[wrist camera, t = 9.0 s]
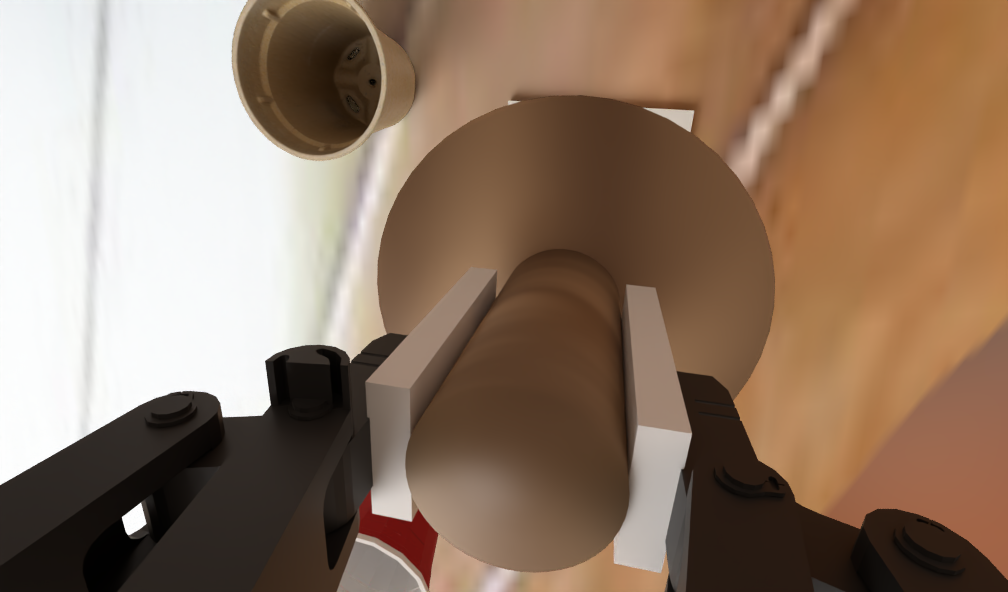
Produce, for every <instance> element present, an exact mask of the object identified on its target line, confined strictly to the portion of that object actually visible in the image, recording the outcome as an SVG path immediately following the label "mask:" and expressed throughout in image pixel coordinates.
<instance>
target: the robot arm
mask: <svg viewBox="0 0 1008 592" xmlns="http://www.w3.org/2000/svg"><path fill="white" fill-rule="evenodd" d="M496 284H497V270H494V269H485V268H476V267H471V268H470V269H469V270H468V271H467V272H466V273H465V274H464V275H463V276H462V277H461V278H460V280H459V281H458V282H457V283H456V284H455V285H454V286H453V287H452V288H451V289H450V290H449V292H448V293H447V294H446V295H445V296H444V297H443V298H442V299H441V300H440V301H439V302H438V303H437V305H436V306H435V307H434V308H433V309H432V310H431V311H430V312H429V313H428V314H427V315H426V316H425V318H424V319H423V320H422V321H421V322H420V323H419V324H418V325H417V326H416V327H415V328H414V330H413V331H412V332H411V333H410V334H409V335H402V334H395V333H389V334H387V335H385V336H382V337H380V338H378V339H376V340H373V341H372V342H371V343H370V344H369V345H368V346H366V347H365V348H364V349H363V350H362V351H361V354H358V355H357V356H356V357H355V358H354V359H353V360H352V361H351V363H350V358H349V357H348V355H347V354H346V352H345V351H343V350H340V349H338V348H336V347H332V346H325V345H305V346H300V347H295V348H290V349H287V350H284V351H282V352H279V353H276V354H275V355H273V356H272V357H270V358H269V359H267V360H266V361H265V363H266V371H267V378H268V386H269V393H270V401H271V406H270V407H269V408H268V410H267V411H266V412H265V413H264V414H263V416H248V417H222V411H221V406H220V402H219V401H218V399H217V397H216V396H213V395H211V394H208V393H206V392H194V391H183V392H175V393H170V394H168V395H166V396H162V397H158V398H155V399H153V400H151V401H149V402H146V403H144V404H142V405H140V406H138V407H136V408H134V409H133V410H131V411H129V412H127V413H126V414H124V415H122V416H120V417H119V418H117V419H115V420H114V421H112V422H110V423H108V424H107V425H105V426H103V427H101V428H100V429H98V430H96V431H94V432H93V433H91V434H89V435H87V436H86V437H84V438H82V439H80V440H79V441H77V442H75V443H73V444H72V445H70V446H68V447H66V448H65V449H63V450H61V451H59V452H58V453H56V454H54V455H52V456H51V457H49V458H47V459H45V460H44V461H42V462H40V463H38V464H37V465H35V466H33V467H31V468H30V469H28V470H26V471H24V472H23V473H21V474H19V475H17V476H16V477H14V478H12V479H10V480H9V481H7V482H5V483H3V484H2V485H0V592H337V589H338V587H339V584H340V581H341V579H342V576H343V573H344V571H345V568H346V565H347V562H348V560H349V557H350V554H351V552H352V549H353V546H354V543H355V541H356V538H357V535H358V533H359V525H360V513H359V507H360V505H361V504H362V502H363V501H364V499H365V498H366V496H367V494H368V493H369V491H370V490H371V500H372V513H373V514H377V515H382V516H387V517H392V518H397V519H402V520H406V521H411V522H412V520H413V518H414V516H415V514H416V512H417V510H418V507H417V505H416V503H415V502H414V500H413V497H412V495H411V492H410V489H409V486H408V482H407V478H406V469H405V458H406V450H407V445H408V441H409V439H410V436H411V434H412V431H413V430H414V428H415V426H416V425H417V423H418V421H419V420H420V418H421V417H422V415H423V413H424V412H425V410H426V409H427V407H428V405H429V404H430V402H431V401H432V399H433V398H434V396H435V394H436V393H437V391H438V390H439V388H440V386H441V385H442V383H443V382H444V380H445V378H446V377H447V375H448V374H449V372H450V371H451V369H452V367H453V366H454V364H455V363H456V361H457V359H458V358H459V356H460V355H461V353H462V351H463V350H464V348H465V347H466V345H467V344H468V342H469V340H470V339H471V337H472V336H473V334H474V332H475V331H476V329H477V328H478V326H479V324H480V323H481V321H482V320H483V318H484V317H485V315H486V313H487V312H488V310H489V309H490V307H491V305H492V304H493V302H494V301H495V299H496ZM621 327H622V348H623V369H624V391H625V412H626V433H627V454H628V476H629V492H630V495H629V506H628V510H627V514H626V518H625V520H624V522H623V524H622V527H621V529H620V530H619V532H618V533H617V535H616V536H615V538H614V563H615V564H620V565H625V566H629V567H634V568H639V569H644V570H649V571H654V572H658V573H661V571H662V566H663V562H664V557H665V553H666V552H667V560H668V568H669V575H668V580H667V584H666V588H665V592H1008V580H1007V579H1006V578H1005V577H1004V576H1003V575H1002V574H1001V573H1000V572H999V570H997V568H996V567H995V566H994V565H993V564H992V563H991V562H990V561H989V560H988V558H987V557H985V556H984V555H983V554H982V553H981V552H979V550H978V549H976V548H975V547H974V546H973V545H972V544H971V543H970V542H969V541H967V540H966V539H964V538H963V537H961V536H959V535H958V534H956V533H954V532H953V531H951V530H950V529H948V528H947V527H945V526H943V525H942V524H940V523H938V522H935V521H933V520H929V518H926V517H923V516H920V515H918V514H914V513H910V512H905V511H901V510H898V509H877V510H875V511H873V512H871V513H869V514H867V515H866V516H865V519H864V521H863V524H862V526H861V529H858V528H856V527H853V526H850V525H848V524H845V523H842V522H840V521H837V520H835V519H832V518H829V517H827V516H824V515H821V514H819V513H817V512H814V511H812V510H810V509H808V508H805V507H803V506H801V505H800V504H798V503H796V502H795V498H794V494H793V492H792V490H791V488H790V486H789V484H788V482H787V481H785V480H784V479H783V478H782V477H781V476H780V475H779V474H778V473H777V472H776V471H775V470H773V469H772V468H770V467H768V466H767V465H765V464H763V463H762V462H760V461H758V459H757V457H756V454H755V452H754V450H753V447H752V445H751V443H750V440H749V438H748V435H747V433H746V431H745V428H744V426H743V424H742V421H740V417H739V414H738V412H737V409H736V408H735V405H734V402H733V400H732V398H731V395H730V393H729V391H728V390H727V389H726V388H725V387H724V386H723V385H722V384H721V383H720V382H719V381H717V380H716V379H715V378H714V377H713V376H708V375H701V374H694V373H686V372H679V371H676V368H675V364H674V360H673V356H672V352H671V348H670V344H669V340H668V336H667V332H666V328H665V324H664V320H663V316H662V312H661V308H660V304H659V300H658V296H657V292H656V288H653V287H644V286H635V285H627V284H626V290H625V297H624V304H623V310H622V317H621ZM139 503H141V504H142V507H143V511H144V515H145V519H146V523H147V524H146V525H145V526H143V527H142V528H141V529H140V530H138V531H136V532H134V533H133V534H131V535H127V533H126V532H125V528H124V524H123V521H122V516H124V515H125V514H126V513H128V512H129V511H130V510H132V509H133V508H134V507H135V506H137V505H138V504H139Z"/></svg>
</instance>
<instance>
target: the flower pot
mask: <svg viewBox="0 0 1008 592" xmlns="http://www.w3.org/2000/svg"><path fill="white" fill-rule="evenodd" d="M356 48H359V49H360V51H359V52H358V53H357V54H356V58H355V57H353V58H352V59H351V60H349V59H348V57H349V55H350V54H351V53H352V51H353V50H354V49H356ZM232 68H233V74H234V80H235V83H236V87H237V91H238V94H239V97H240V99H241V102H242V104H243V106H244V108H245V110H246V112H247V113H248V115H249V117H250V119H251V120H252V121H253V123H254V124H255V126H256V127H257V128H258V129H259V130H260V132H262V133H263V134H264V136H265V137H266V138H267V139H268V140H270V141H271V142H272V143H273V144H275V145H276V146H277V147H279V148H280V149H282V150H284V151H286V152H288V153H290V154H292V155H294V156H296V157H299V158H302V159H307V160H315V161H325V160H331V159H336V158H339V157H342V156H344V155H347V154H349V153H351V152H352V151H354V150H355V149H357V148H358V147H360V146H361V145H362V144H363V143H364V142H365V141H366V140H367V139H368V138H369V137H370V135H371V134H372V133H374V132H377V131H379V130H382V129H384V128H388V127H390V126H393V125H395V124H396V123H398V122H399V121H400V120H402V119H403V118H404V116H405V115H406V114H407V113H408V111H409V109H410V108H411V106H412V103H413V101H414V93H415V72H414V69H413V66H412V63H411V61H410V59H409V57H408V55H407V54H406V52H405V51H404V50H403V48H402V47H401V46H400V45H399V44H398V43H397V42H395V41H394V40H393V39H391V38H389V37H388V36H387V35H385V34H384V33H382V32H381V31H380V30H378V29H377V28H376V27H375V25H374V23H373V22H372V20H371V19H370V17H369V16H368V14H367V13H366V11H365V10H364V9H363V8H362V6H361V5H360V4H359V3H358V2H357V1H356V0H248V2H246V5H245V6H244V8H243V10H242V12H241V14H240V16H239V19H238V21H237V24H236V27H235V31H234V37H233V42H232ZM371 79H374V80H375V82H376V83H375V85H371V84H370V80H371ZM349 96H350V97H351V98H352V99H353V100H354V102H355V103H356V105H357V106H358V107H359V108H360V109H359V111H358V112H355V111H354V110H353V109H352V108H351V106H350V104H349V103H348V101H347V97H349Z"/></svg>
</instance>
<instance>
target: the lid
mask: <svg viewBox="0 0 1008 592" xmlns="http://www.w3.org/2000/svg"><path fill="white" fill-rule="evenodd" d="M471 267H476V268H485V269H494V270H497V284H496V299H495V301H494V302H493V304H492V305H491V307H490V309H489V310H488V312H487V313H486V315H485V317H484V318H483V320H482V321H481V323H480V324H479V326H478V328H477V329H476V331H475V332H474V334H473V336H472V337H471V339H470V340H469V342H468V344H467V345H466V347H465V348H464V350H463V351H462V353H461V355H460V356H459V358H458V359H457V361H456V363H455V364H454V366H453V367H452V369H451V371H450V372H449V374H448V375H447V377H446V378H445V380H444V382H443V383H442V385H441V386H440V388H439V390H438V391H437V393H436V394H435V396H434V398H433V399H432V401H431V402H430V404H429V405H428V407H427V409H426V410H425V412H424V413H423V415H422V417H421V418H420V420H419V421H418V423H417V425H416V426H415V428H414V430H413V431H412V434H411V436H410V439H409V441H408V445H407V450H406V458H405V469H406V478H407V482H408V486H409V489H410V492H411V495H412V497H413V500H414V502H415V503H416V505H417V507H418V509H419V511H420V512H421V514H422V515H423V516H424V518H425V519H426V521H427V522H428V523H429V524H430V525H431V526H432V528H433V529H434V530H435V531H436V532H437V533H438V534H439V535H441V536H442V537H443V538H444V539H445V540H446V541H447V542H449V543H450V544H452V545H453V546H454V547H456V548H457V549H459V550H460V551H462V552H464V553H465V554H467V555H469V556H471V557H473V558H475V559H477V560H479V561H482V562H484V563H487V564H490V565H493V566H496V567H500V568H504V569H508V570H514V571H520V572H549V571H556V570H562V569H565V568H569V567H573V566H575V565H578V564H580V563H583V562H585V561H587V560H588V559H590V558H592V557H594V556H595V555H597V554H598V553H599V552H601V551H602V550H603V549H605V548H606V547H607V546H608V544H609V543H610V542H611V541H612V540H613V539H614V538H615V536H616V535H617V533H618V532H619V530H620V529H621V527H622V524H623V522H624V520H625V518H626V514H627V510H628V506H629V495H630V492H629V476H628V454H627V433H626V412H625V391H624V369H623V348H622V327H621V317H622V310H623V304H624V297H625V290H626V284H627V285H635V286H644V287H653V288H656V292H657V296H658V300H659V304H660V308H661V312H662V316H663V320H664V324H665V328H666V332H667V336H668V340H669V344H670V348H671V352H672V356H673V360H674V364H675V368H676V371H679V372H686V373H694V374H701V375H708V376H713V377H714V378H715V379H716V380H717V381H719V382H720V383H721V384H722V385H723V386H724V387H725V388H726V389H727V390H728V391H729V393H730V395H731V398H732V400H734V399H735V398H736V396H737V395H738V394H739V392H740V391H741V389H742V388H743V387H744V385H745V384H746V382H747V381H748V379H749V378H750V376H751V374H752V372H753V370H754V368H755V366H756V365H757V363H758V361H759V359H760V357H761V354H762V351H763V349H764V346H765V343H766V340H767V337H768V334H769V331H770V325H771V320H772V315H773V309H774V294H775V276H774V267H773V259H772V252H771V248H770V245H769V241H768V237H767V234H766V230H765V227H764V224H763V222H762V220H761V218H760V215H759V213H758V211H757V209H756V207H755V204H754V202H753V200H752V198H751V197H750V195H749V194H748V192H747V191H746V189H745V188H744V186H743V185H742V183H741V182H740V180H739V179H738V177H737V176H736V174H735V173H734V172H733V171H732V170H731V169H730V168H729V167H728V165H727V164H726V163H725V162H724V161H723V160H722V159H721V158H720V156H719V155H718V154H717V153H716V152H714V151H713V150H712V149H711V148H710V147H708V146H707V145H706V144H705V143H704V142H702V141H701V140H700V139H699V138H698V137H696V136H695V135H694V134H692V133H691V132H689V131H687V130H686V129H684V128H682V127H681V126H679V125H678V124H676V123H674V122H673V121H671V120H669V119H667V118H665V117H663V116H660V115H658V114H656V113H653V112H651V111H649V110H646V109H644V108H642V107H639V106H635V105H631V104H628V103H624V102H620V101H616V100H613V99H606V98H598V97H590V96H582V95H580V96H549V97H543V98H537V99H530V100H524V101H520V102H517V103H514V104H511V105H507V106H504V107H501V108H498V109H495V110H493V111H491V112H489V113H486V114H484V115H482V116H480V117H478V118H476V119H474V120H472V121H470V122H468V123H467V124H465V125H464V126H462V127H461V128H459V129H458V130H456V131H455V132H453V133H452V134H450V135H449V136H447V137H446V138H445V139H444V140H443V141H442V142H440V143H439V144H438V145H437V146H436V147H435V148H434V149H433V150H431V151H430V152H429V153H428V154H427V155H426V157H425V158H424V159H423V160H422V161H421V162H420V164H419V165H418V166H417V167H416V168H415V169H414V171H413V172H412V173H411V175H410V176H409V178H408V179H407V181H406V182H405V184H404V186H403V187H402V189H401V190H400V192H399V193H398V196H397V198H396V200H395V202H394V204H393V206H392V209H391V211H390V213H389V215H388V218H387V222H386V225H385V228H384V232H383V235H382V239H381V245H380V251H379V257H378V278H377V285H378V295H379V304H380V310H381V314H382V318H383V322H384V327H385V330H386V333H387V334H389V333H395V334H402V335H409V334H410V333H411V332H412V331H413V330H414V328H415V327H416V326H417V325H418V324H419V323H420V322H421V321H422V320H423V319H424V318H425V316H426V315H427V314H428V313H429V312H430V311H431V310H432V309H433V308H434V307H435V306H436V305H437V303H438V302H439V301H440V300H441V299H442V298H443V297H444V296H445V295H446V294H447V293H448V292H449V290H450V289H451V288H452V287H453V286H454V285H455V284H456V283H457V282H458V281H459V280H460V278H461V277H462V276H463V275H464V274H465V273H466V272H467V271H468V270H469V269H470V268H471Z"/></svg>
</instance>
